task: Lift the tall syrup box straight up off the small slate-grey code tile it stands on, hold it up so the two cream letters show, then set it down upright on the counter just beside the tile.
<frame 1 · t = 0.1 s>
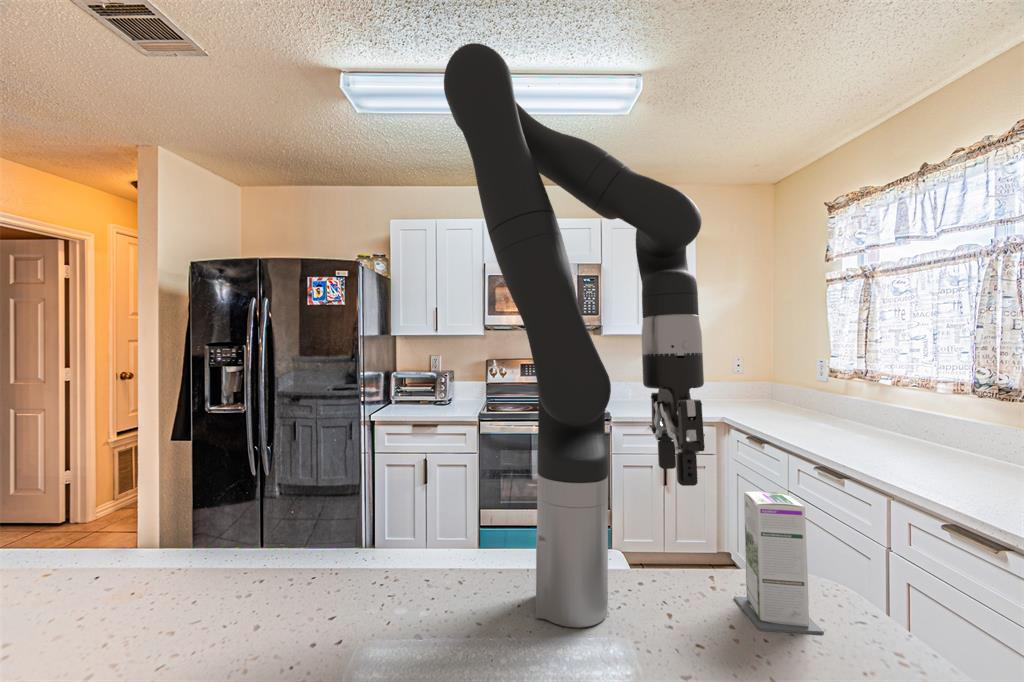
hand: (676, 476, 59), 17 cm above the countertop, tool pointing down, fingers open, 8 cm apart
code tile: (775, 615, 58), on the countertop
syrup box: (775, 613, 58), resting on code tile
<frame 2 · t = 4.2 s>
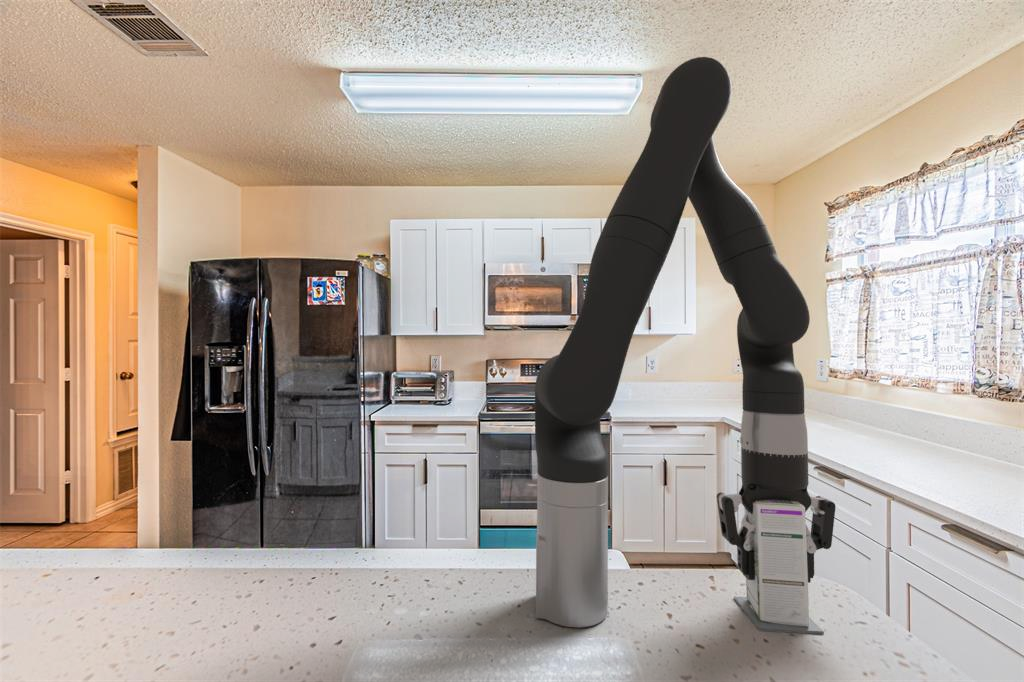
hand: (775, 578, 58), 5 cm above the countertop, tool pointing down, fingers closed on syrup box, 6 cm apart
syrup box: (775, 613, 58), resting on code tile, touching gripper
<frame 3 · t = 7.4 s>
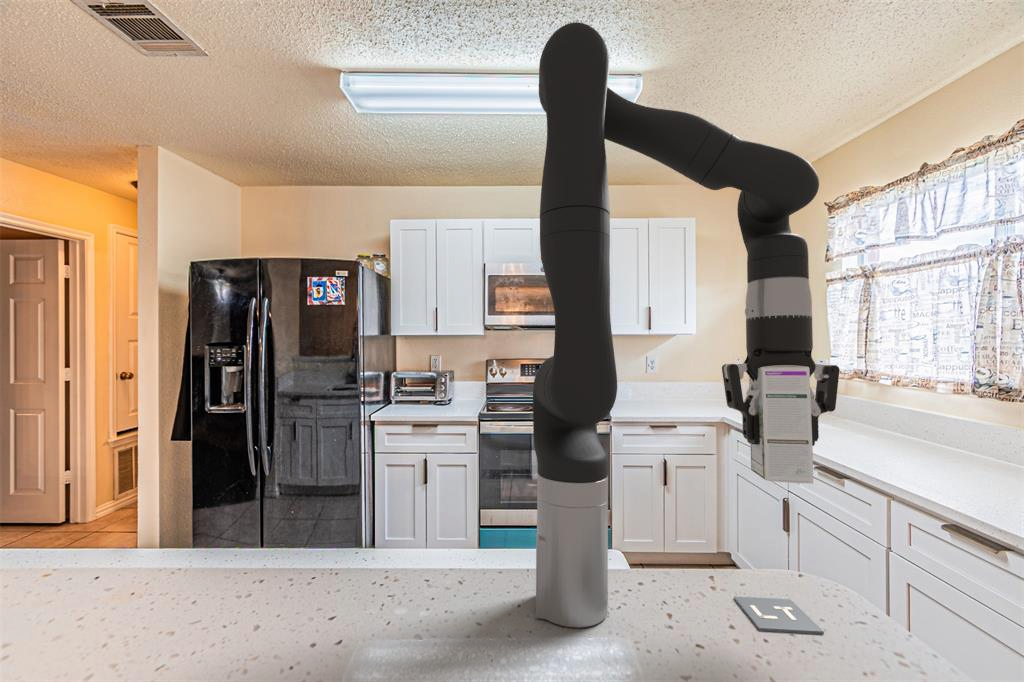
hand: (780, 443, 59), 22 cm above the countertop, tool pointing down, fingers closed on syrup box, 6 cm apart
syrup box: (780, 478, 59), point 17 cm above the countertop, touching gripper
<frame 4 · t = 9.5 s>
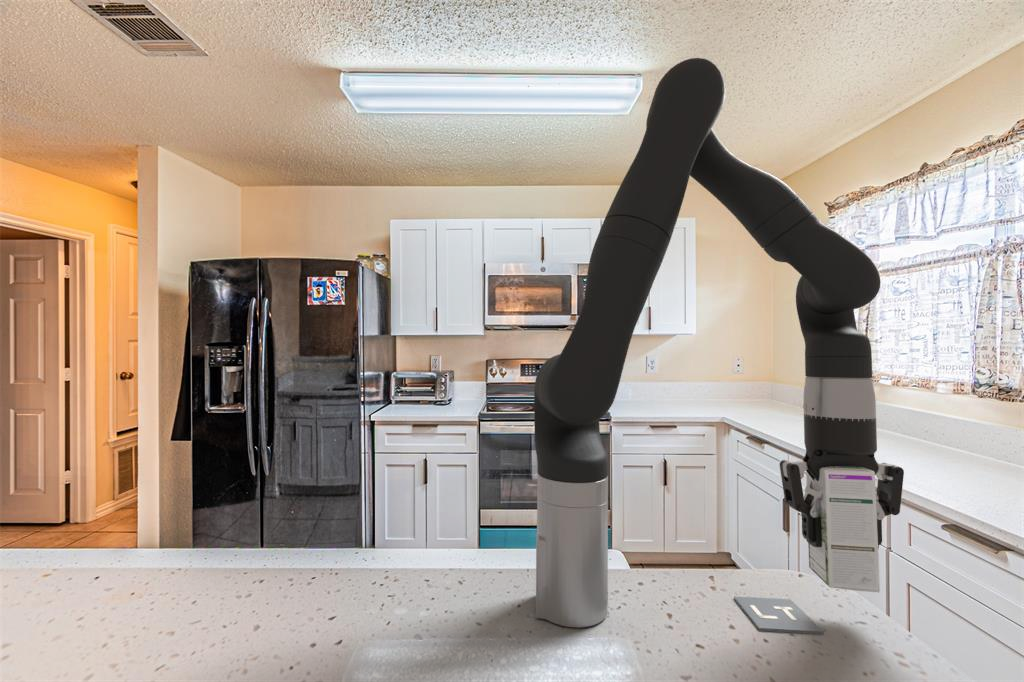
hand: (841, 545, 57), 9 cm above the countertop, tool pointing down, fingers closed on syrup box, 6 cm apart
syrup box: (841, 581, 57), point 5 cm above the countertop, touching gripper
when the fingers open (6 cm above the countertop, at t = 11.1 s): syrup box drops 1 cm, on the countertop.
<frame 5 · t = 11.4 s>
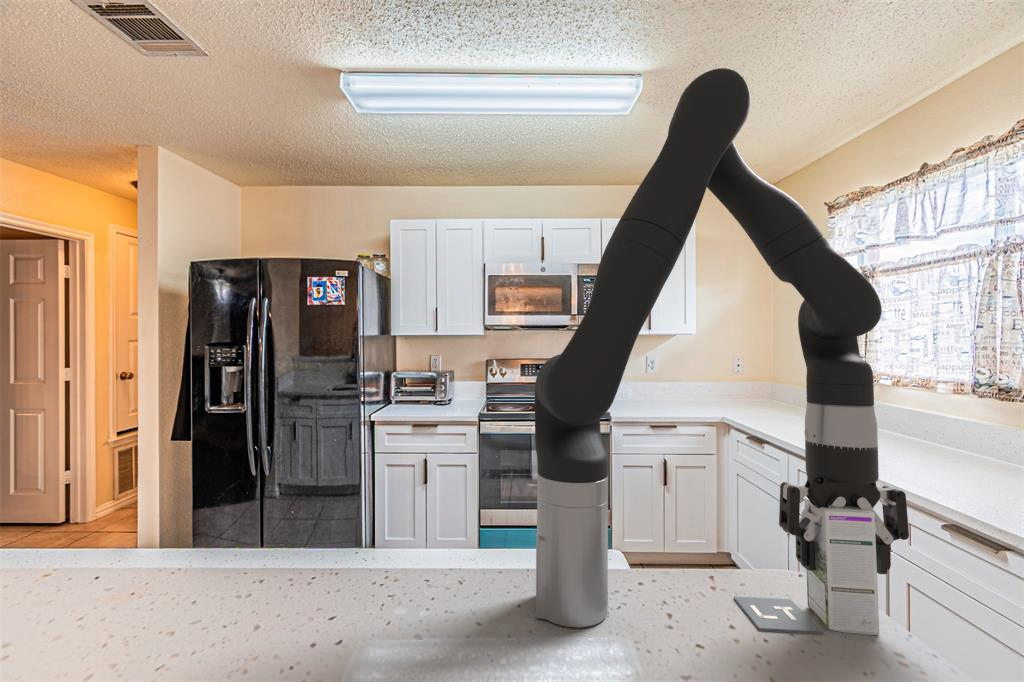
hand: (842, 569, 57), 6 cm above the countertop, tool pointing down, fingers open, 8 cm apart
syrup box: (841, 622, 57), on the countertop
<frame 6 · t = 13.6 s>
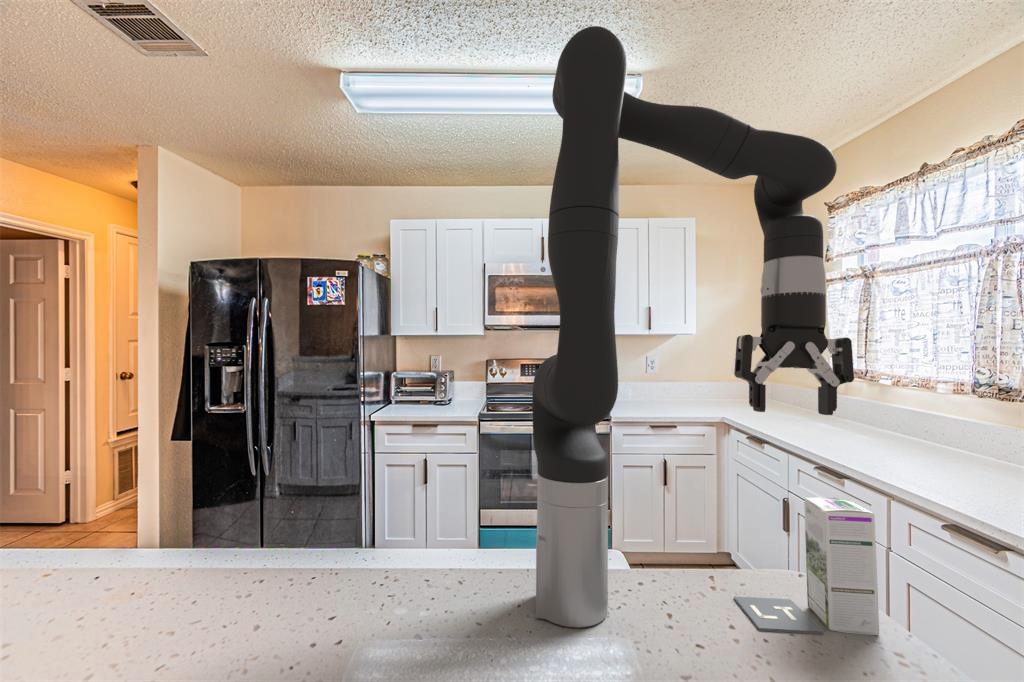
hand: (792, 413, 61), 26 cm above the countertop, tool pointing down, fingers open, 8 cm apart
nothing on the countertop moved.
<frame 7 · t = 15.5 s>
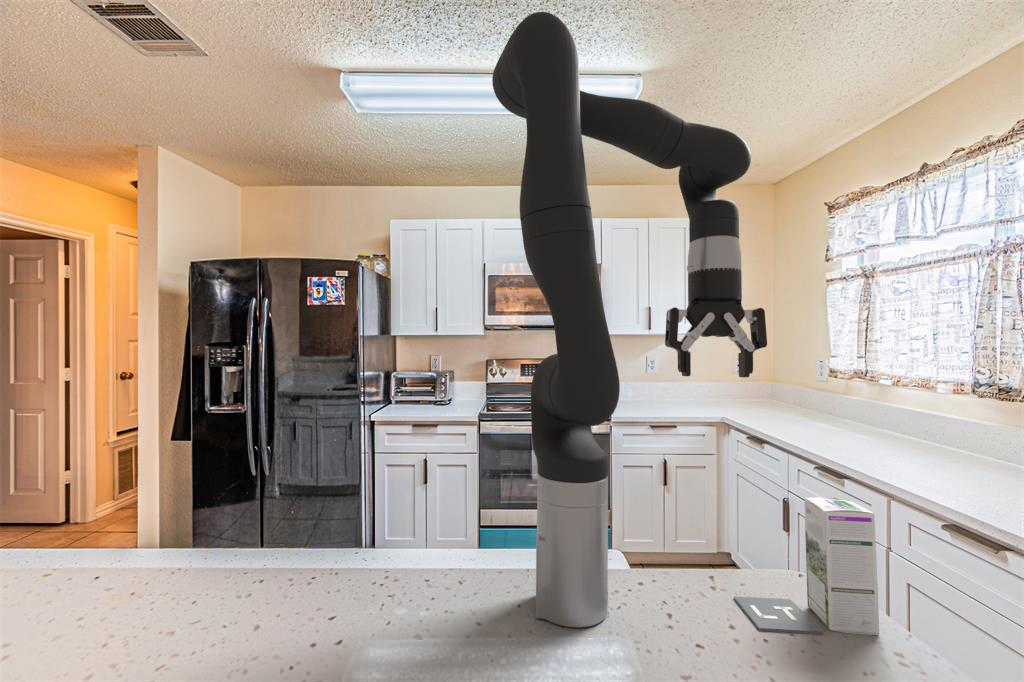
hand: (715, 376, 68), 30 cm above the countertop, tool pointing down, fingers open, 8 cm apart
nothing on the countertop moved.
at the end: syrup box 0.5 cm from the target spot, on the countertop; syrup box tilted 0°; the gripper is holding nothing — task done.
